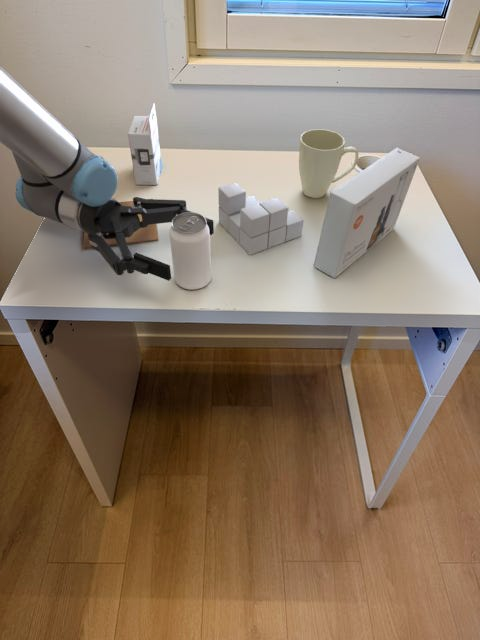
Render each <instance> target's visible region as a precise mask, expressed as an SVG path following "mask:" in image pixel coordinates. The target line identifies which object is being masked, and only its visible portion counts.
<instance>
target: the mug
mask: <svg viewBox="0 0 480 640" xmlns="http://www.w3.org/2000/svg"><path fill="white" fill-rule="evenodd" d="M345 144H346V140H345V138H344V136H343V135H341V134H340V133H338V132H336V131H334V130H329V129H322V128H315V129H314V128H313V129H309V130H307V131H304V132H303V133H301V135H300V137H299V148H298V149H299V151H298V172H299V177H300V182H301V183H300V184H301V187H302V192H303V194H304V195H305V196H307V197H308V198H311V199H318V198H322V197H324V196H325V195H326V193H327V191H328V190H329V188H330V186H331V185H332V184H333V183H337V182H338V181H340V180H342V179H343V178H344V177H346V176H347V175H348V174H350V173H351V172H352V171H353V170H354V169H355V168H356V166H357V165H358V161H359V150H358V149H357V148H356V147H354V146H346V147H345ZM349 152H354V153H355V154H354V155H355V156H354V161H353V163H352V164H351V165H350V166H349V167H348V168H347V169H346V170H343V172H341V173H340V174H339V175H337V173H338V169H339V167H340V163H341V159H342V157H343V156H344V155H345V154H347V153H349ZM336 175H337V176H336Z"/></svg>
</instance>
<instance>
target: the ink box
mask: <svg viewBox="0 0 480 640" xmlns="http://www.w3.org/2000/svg"><path fill="white" fill-rule="evenodd" d="M127 138H128V143H129V144H128V145H129V149H130V150H129V151H130V156H131V162H132V168H133V175H134V181H135V185H137V186H157V185H158V184H159V180H160V175H161V172H162V166H163V165H162V154H161V146H160V139H159V128H158V119H157V110H156V104H155V102H153V103H152V106H151V110H150V113H149V115H134V116H133V119H132V122H131V124H130V126H129V129H128V132H127Z"/></svg>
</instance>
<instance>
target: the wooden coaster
mask: <svg viewBox="0 0 480 640" xmlns="http://www.w3.org/2000/svg"><path fill="white" fill-rule="evenodd" d="M118 202H119V203H120V204H121V205H122V206H131V205H132V204H133V200H125V201H118ZM138 217H139V220H140V222H141V221H142V215H141V214H138ZM157 225H158V224H150V225H148V226H147V227H144V228H140V229H138V230H137V231H135V232H134V233H133V234H132V236H130V237H127V238H125V240H126V242H127V245H129V244H139V243H148V242H156V241H157V242H158V241H160V239H159V233H158V226H157ZM104 240H105V241H106V242H107V244H108V245H109V246H110V247H111V246H118V244H117V242H116V239H104ZM83 249H92V248H91V245H90V242H89V238H88V233H86V232H84V231H83Z"/></svg>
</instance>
